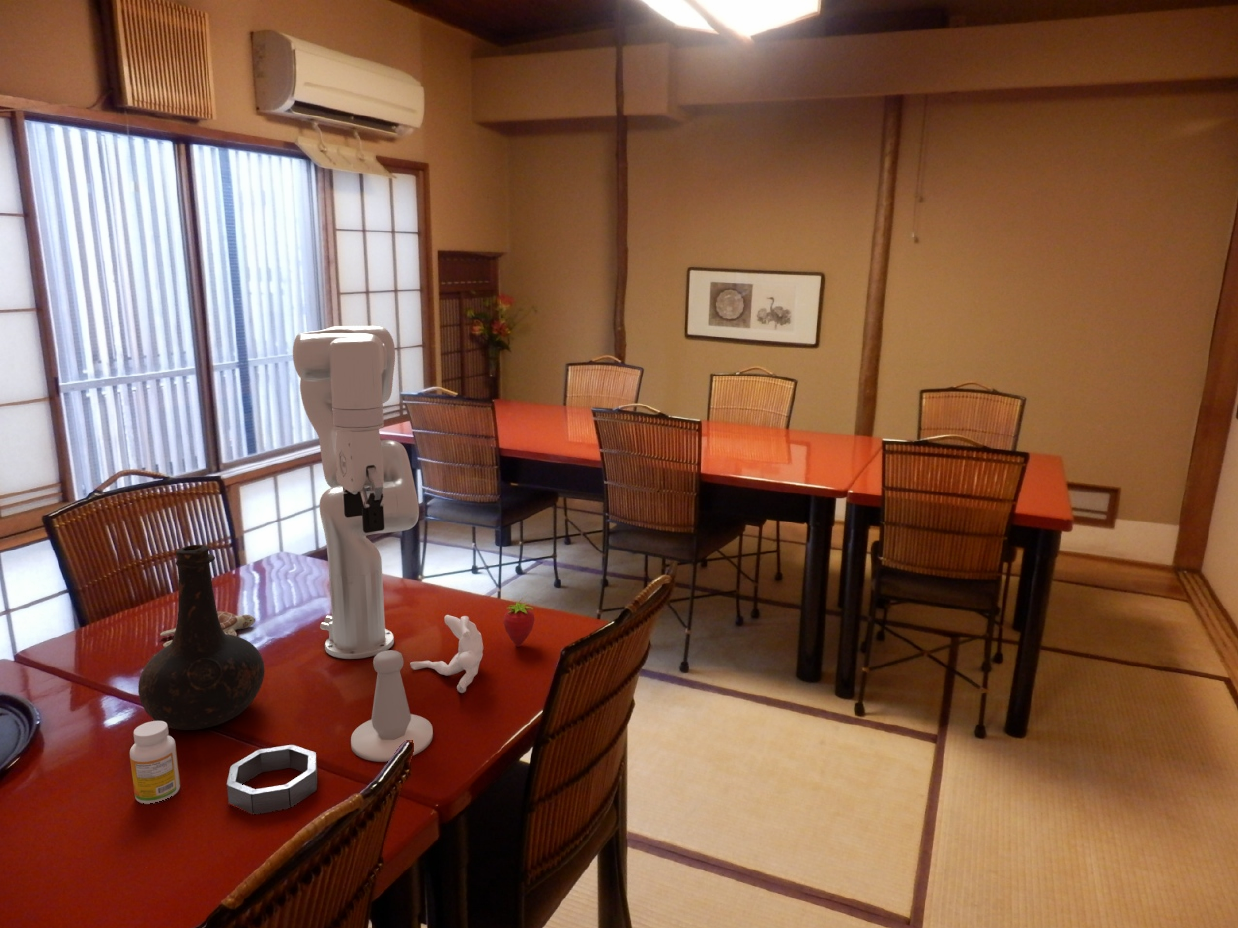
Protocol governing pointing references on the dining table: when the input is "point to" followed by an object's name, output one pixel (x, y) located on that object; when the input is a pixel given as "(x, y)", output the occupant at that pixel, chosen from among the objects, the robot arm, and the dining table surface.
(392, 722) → the salt shaker
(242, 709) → the glass bottle
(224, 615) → the decorative turtle
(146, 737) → the supplement bottle
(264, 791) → the metal ring
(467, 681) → the person figurine
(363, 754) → the ceramic coaster
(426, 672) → the dining table surface
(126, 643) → the dining table surface
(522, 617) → the strawberry
